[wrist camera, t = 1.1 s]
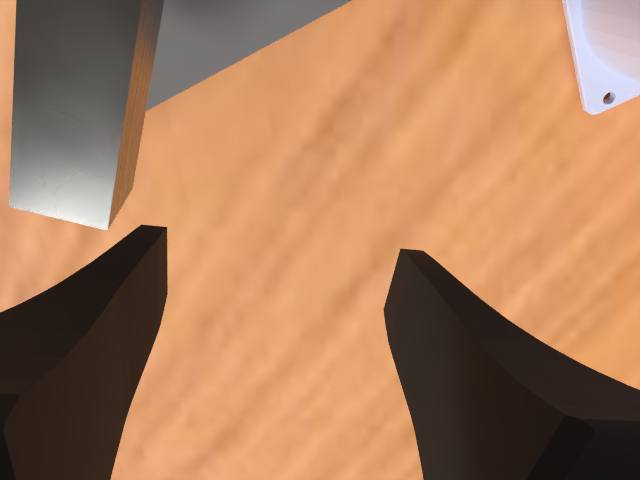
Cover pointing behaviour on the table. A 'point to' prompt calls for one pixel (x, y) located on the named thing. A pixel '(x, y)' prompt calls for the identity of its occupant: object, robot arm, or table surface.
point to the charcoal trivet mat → (220, 37)
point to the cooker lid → (80, 104)
